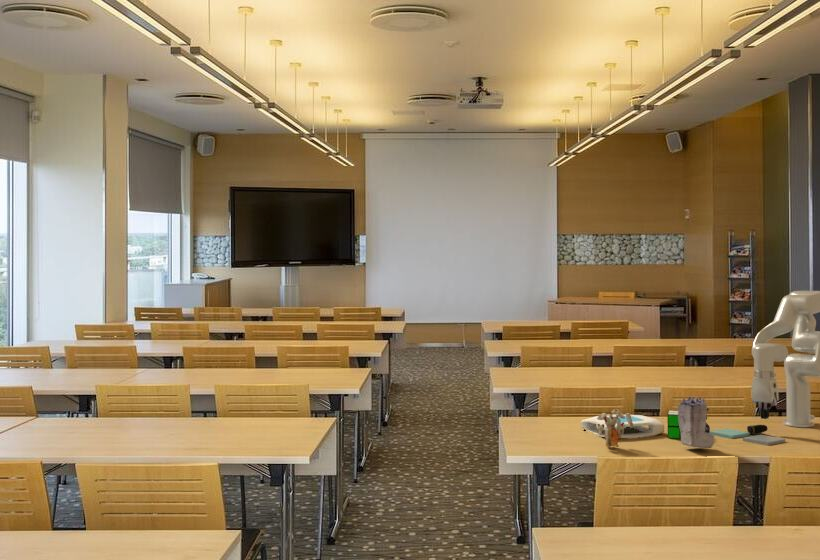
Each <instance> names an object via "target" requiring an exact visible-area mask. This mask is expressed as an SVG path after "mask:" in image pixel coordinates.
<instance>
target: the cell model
mask: <svg viewBox="0 0 820 560" xmlns="http://www.w3.org/2000/svg"><path fill="white" fill-rule="evenodd" d="M705 399H706V398H705V397H701V396H699V397H693V396H691V397H690V396H689V397H688V398H687V399H685V397H682V401H681V402H680V403H679V402H678V405H677V408H678V410H677V411H678V422H679V428H680V432H681V438H680V442H681V443H680V444H682V445H684V446H687V447H692V448H700V449H701V448H702V449H711V448H712V447H713V446H714V442H715V435H712V434H709V432H710V431H711V430H710V429H711V427H710V425H709V424H708V423H707V419H708V417H707V413H708V412H709V407H708V405H707V403H706V402H705V401H706V400H705Z"/></svg>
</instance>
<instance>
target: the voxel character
mask: <svg viewBox="0 0 820 560" xmlns="http://www.w3.org/2000/svg"><path fill="white" fill-rule="evenodd" d="M614 414H615V415H616V417H613V415H614ZM607 415H609V417H610V418H608V417H607ZM624 415H626V417H627V422H628V424H630V426H633V423H632V419H631V415H632V414H631V413H625V414H623V413H622V412H621V411H620V410H619V409H618V408H616V409H613V410H611V411H610V412H609V413H606V412H602V413H601V414H600V415H597V416H598V418H597V419H598V420H605V424H606V425H607V427H606V429H604V424H602V425H600V424H598V425H597V427H598V429H599V430H598V434H599V435H605V437H606V438H605V447H607V448H611V447H614V448H619V444H618V441H619V439H618V438H621V434H625V433H624V432H625V429H626V428H625V424H624V422H623V423H621V419H620V418H622V419H625V416H624ZM618 417H620V418H618ZM616 423H617V429H616V428H615V425H616ZM603 429H604V430H603Z"/></svg>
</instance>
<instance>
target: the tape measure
mask: <svg viewBox="0 0 820 560" xmlns="http://www.w3.org/2000/svg"><path fill="white" fill-rule="evenodd" d="M746 430H747V431H746V432H749V433H750V435H751V434H752V436H756V435H760V434H762V433H765V432H767V431H768V426H767V425H766V424H754V425H747V427H746Z"/></svg>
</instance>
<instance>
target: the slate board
mask: <svg viewBox="0 0 820 560" xmlns="http://www.w3.org/2000/svg"><path fill="white" fill-rule="evenodd" d="M742 442H747V443H752V444H759V445H765V446H773V445H777V444H782V443H786V438H783V437H782V438H781V437H776V436H771V435H764V434H757V435H752V436H751V435H750V436H744V437H742Z"/></svg>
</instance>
